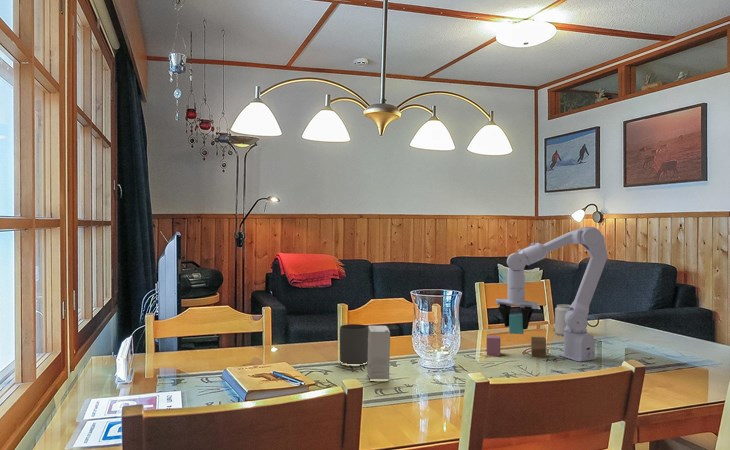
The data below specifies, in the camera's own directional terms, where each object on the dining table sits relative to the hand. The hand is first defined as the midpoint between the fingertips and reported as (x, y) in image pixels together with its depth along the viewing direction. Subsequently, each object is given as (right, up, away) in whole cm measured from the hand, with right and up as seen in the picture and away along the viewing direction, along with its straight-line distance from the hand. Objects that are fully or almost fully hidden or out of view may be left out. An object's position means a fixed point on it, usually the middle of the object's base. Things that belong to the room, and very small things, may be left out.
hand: (516, 327), depth 192 cm
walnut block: (+7, -9, -1) cm, 12 cm away
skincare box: (-48, -10, -29) cm, 57 cm away
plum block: (-7, -9, +1) cm, 12 cm away
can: (+29, -9, +34) cm, 46 cm away
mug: (-56, -10, -9) cm, 58 cm away
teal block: (0, -2, 0) cm, 2 cm away
